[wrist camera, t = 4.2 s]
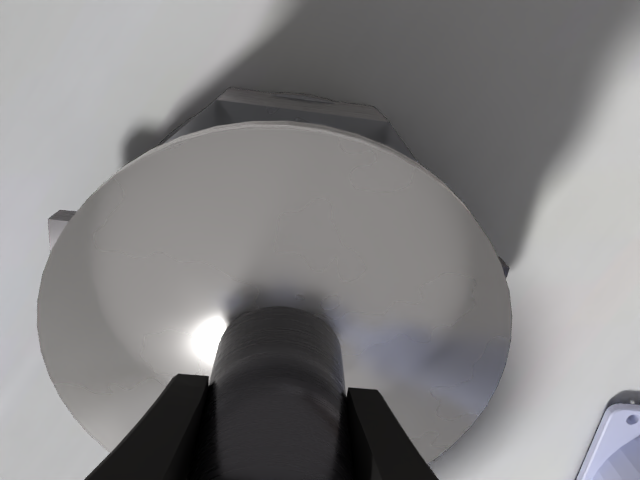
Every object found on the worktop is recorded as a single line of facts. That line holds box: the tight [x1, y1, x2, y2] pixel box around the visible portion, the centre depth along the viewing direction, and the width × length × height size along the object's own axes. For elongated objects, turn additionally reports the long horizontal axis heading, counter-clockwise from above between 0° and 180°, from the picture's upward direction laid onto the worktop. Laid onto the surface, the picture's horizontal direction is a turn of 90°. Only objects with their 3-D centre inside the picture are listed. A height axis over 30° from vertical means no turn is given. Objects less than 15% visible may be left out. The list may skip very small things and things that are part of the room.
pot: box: [48, 87, 509, 278], centre depth 17 cm, size 14×11×3 cm
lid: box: [37, 121, 512, 480], centre depth 10 cm, size 10×10×5 cm
